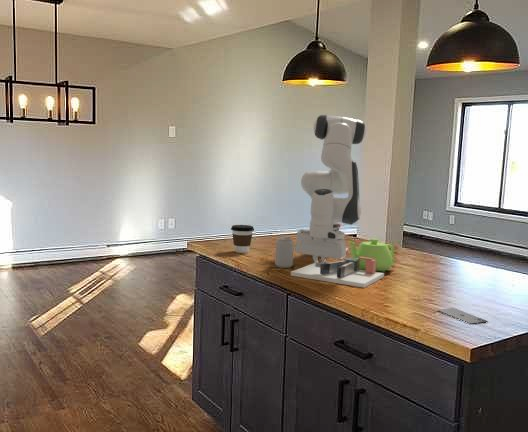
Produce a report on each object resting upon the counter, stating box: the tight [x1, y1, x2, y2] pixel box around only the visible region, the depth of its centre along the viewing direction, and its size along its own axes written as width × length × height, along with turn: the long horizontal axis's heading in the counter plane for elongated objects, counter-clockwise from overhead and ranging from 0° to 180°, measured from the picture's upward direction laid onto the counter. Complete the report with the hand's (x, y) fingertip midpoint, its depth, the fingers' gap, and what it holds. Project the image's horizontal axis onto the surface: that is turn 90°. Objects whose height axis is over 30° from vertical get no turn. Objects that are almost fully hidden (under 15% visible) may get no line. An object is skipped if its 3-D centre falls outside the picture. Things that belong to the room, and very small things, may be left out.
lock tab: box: [358, 257, 377, 274], centre depth 223 cm, size 3×6×6 cm, turn 60°
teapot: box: [347, 238, 396, 273], centre depth 235 cm, size 22×15×13 cm
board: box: [290, 262, 385, 289], centre depth 221 cm, size 22×30×2 cm
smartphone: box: [437, 307, 489, 325], centre depth 173 cm, size 7×1×15 cm
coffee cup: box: [230, 224, 255, 254], centre depth 264 cm, size 11×11×12 cm
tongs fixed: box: [337, 256, 360, 278], centre depth 219 cm, size 18×5×5 cm, turn 150°
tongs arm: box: [320, 259, 348, 274], centre depth 220 cm, size 14×2×4 cm, turn 131°
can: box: [274, 236, 295, 269], centre depth 235 cm, size 8×8×12 cm
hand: (319, 267), depth 218 cm, fingers closed
